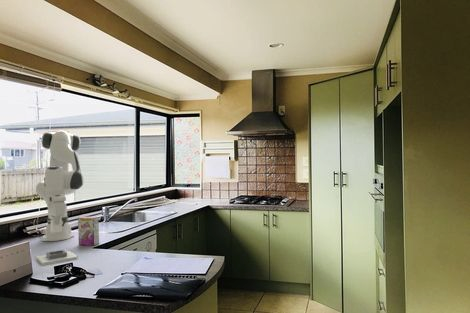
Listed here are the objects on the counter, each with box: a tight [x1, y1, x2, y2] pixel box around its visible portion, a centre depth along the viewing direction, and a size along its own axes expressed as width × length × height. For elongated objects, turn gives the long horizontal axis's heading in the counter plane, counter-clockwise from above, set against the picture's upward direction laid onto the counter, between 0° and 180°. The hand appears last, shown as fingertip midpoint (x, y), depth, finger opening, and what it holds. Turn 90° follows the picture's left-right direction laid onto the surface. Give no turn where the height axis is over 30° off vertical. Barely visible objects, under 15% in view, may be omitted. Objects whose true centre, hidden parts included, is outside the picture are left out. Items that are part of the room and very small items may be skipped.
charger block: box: [50, 216, 62, 233], centre depth 182 cm, size 4×4×8 cm
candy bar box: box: [77, 216, 100, 246], centre depth 212 cm, size 11×5×16 cm, turn 74°
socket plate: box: [35, 249, 78, 266], centre depth 182 cm, size 16×16×3 cm
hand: (56, 223), depth 182 cm, fingers closed on charger block, 4 cm apart
